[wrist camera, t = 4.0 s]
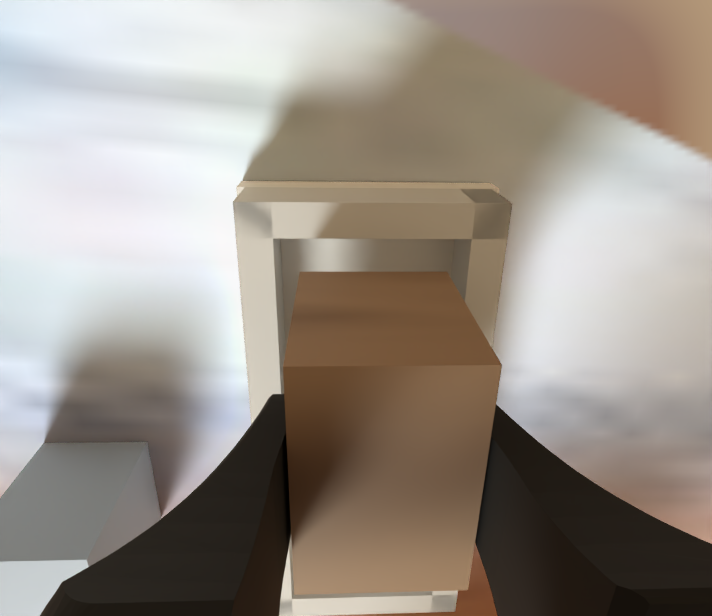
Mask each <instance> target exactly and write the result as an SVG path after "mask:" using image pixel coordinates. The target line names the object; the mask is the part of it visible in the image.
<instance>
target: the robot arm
mask: <svg viewBox="0 0 712 616" xmlns="http://www.w3.org/2000/svg"><path fill="white" fill-rule="evenodd" d="M290 537H291V520H290V500H289V480H288V460H287V439H286V419H285V399H284V394H272V395H271V396H270V397H269V398H268V400H267V401H266V403H265V405H264V406H263V408H262V410H261V411H260V413H259V414H258V416H257V417H256V419H255V420H254V422H253V423H252V425H251V426H250V427H249V429H248V430H247V431H246V433H245V434H244V435H243V437H242V438H241V439H240V441H239V442H238V443H237V445H236V446H235V447H234V448H233V449H232V451H231V452H230V453H229V454H228V455H227V456H226V458H225V459H224V460H223V461H222V462H221V463H220V464H219V466H218V467H217V468H216V469H215V470H214V471H213V472H212V473H211V474H210V475H209V476H208V477H207V479H206V480H205V481H204V482H203V483H202V484H201V485H199V486H198V487H197V488H196V489H195V490H194V491H193V492H192V493H191V494H190V495H189V496H188V497H187V498H186V499H184V500H183V501H182V502H181V503H180V504H179V505H177V506H176V507H175V508H174V509H173V510H172V511H170V512H169V513H168V514H167V515H165V516H164V517H163V518H162V519H161V520H159V521H158V522H157V523H155V524H154V525H153V526H151V527H150V528H148V529H147V530H146V531H144V532H143V533H142V534H140V535H139V536H137V537H136V538H134V539H133V540H131V541H130V542H128V543H127V544H125V545H124V546H122V547H121V548H119V549H118V550H116V551H115V552H113V553H111V554H110V555H108V556H106V557H105V558H103V559H101V560H100V561H98V562H96V563H94V564H93V565H91V566H89V567H88V568H86V569H84V570H82V571H81V572H79V573H77V574H75V575H74V576H72V577H70V578H68V579H66V580H64V581H63V582H62V583H61V584H60V586H59V587H58V589H57V591H56V592H55V594H54V595H53V596H52V598H51V599H50V601H49V602H48V603H47V605H46V606H45V608H44V610H43V611H42V613H41V615H40V616H279V612H280V600H281V592H282V584H283V577H284V571H285V566H286V560H287V554H288V548H289V543H290ZM475 543H476V546H477V549H478V551H479V554H480V557H481V560H482V563H483V566H484V569H485V572H486V574H487V578H488V581H489V584H490V588H491V591H492V595H493V599H494V603H495V607H496V611H497V615H498V616H712V544H710V543H708V542H705V541H703V540H701V539H699V538H696V537H694V536H692V535H690V534H688V533H686V532H683V531H681V530H679V529H677V528H675V527H673V526H670V525H668V524H666V523H664V522H662V521H660V520H658V519H656V518H654V517H652V516H650V515H648V514H647V513H645V512H643V511H641V510H639V509H638V508H636V507H634V506H632V505H630V504H628V503H627V502H625V501H623V500H621V499H619V498H618V497H616V496H614V495H613V494H611V493H609V492H608V491H606V490H604V489H603V488H601V487H600V486H598V485H597V484H595V483H594V482H592V481H591V480H589V479H588V478H586V477H585V476H583V475H581V474H580V473H579V472H577V471H576V470H574V469H573V468H571V467H570V466H569V465H567V464H566V463H565V462H563V461H562V460H561V459H559V458H558V457H557V456H556V455H554V454H553V453H552V452H550V451H549V450H548V449H546V448H545V447H544V446H543V445H542V444H540V443H539V442H538V441H537V440H535V439H534V438H533V437H532V436H531V435H530V434H528V433H527V432H526V431H525V430H524V429H523V428H521V427H520V426H519V425H518V424H517V423H516V422H515V421H514V420H513V419H511V418H510V417H509V416H508V415H507V414H506V413H505V412H504V411H503V410H502V409H501V408H499V407H498V406H497V405H496V407H495V413H494V420H493V427H492V433H491V440H490V447H489V453H488V460H487V467H486V473H485V480H484V486H483V493H482V500H481V506H480V513H479V520H478V526H477V533H476V540H475Z"/></svg>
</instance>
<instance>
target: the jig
mask: <svg viewBox="0 0 712 616" xmlns="http://www.w3.org/2000/svg"><path fill="white" fill-rule="evenodd" d="M499 190H500V189H499V188H497V187H496V186H494V185H493V184H491V183H442V182H318V181H241V183H240V184H239V185H238V186H237V198H236V199H235V200H234V201H233V207H234V220H235V232H236V244H237V256H238V268H239V280H240V292H241V304H242V316H243V328H244V340H245V352H246V364H247V376H248V388H249V400H250V413H251V425H252V423H253V422H254V420H255V419H256V417H257V416H258V414H259V413H260V411H261V410H262V408H263V406H264V405H265V403H266V401H267V400H268V398H269V397H270V396H271V395H272V394H284V379H283V363H284V358H285V352H286V346H287V341H288V335H289V329H290V324H291V318H292V312H293V306H294V301H295V295H296V289H297V284H298V278H299V272H448V274H449V276H450V278H451V279H452V281H453V283H454V284H455V286H456V288H457V290H458V291H459V293H460V295H461V296H462V298H463V300H464V301H465V303H466V305H467V307H468V308H469V310H470V312H471V313H472V315H473V317H474V319H475V320H476V322H477V324H478V325H479V327H480V329H481V330H482V332H483V334H484V336H485V337H486V339H487V341H488V342H489V344H490V346H491V348H492V344H493V337H494V330H495V323H496V316H497V309H498V302H499V294H500V287H501V280H502V273H503V266H504V259H505V252H506V245H507V237H508V230H509V223H510V216H511V209H512V203H511V202H509V201H508V200H506V199H505V198H504V197H502V196H501V195H499ZM457 594H458V591H420V592H381V593H342V594H304V595H294V581H293V561H292V541H291V537H290V543H289V548H288V554H287V560H286V566H285V571H284V577H283V584H282V592H281V600H280V612H279V616H320V615H356V614H392V613H428V612H455V608H456V601H457Z"/></svg>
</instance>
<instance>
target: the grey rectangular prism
mask: <svg viewBox="0 0 712 616" xmlns="http://www.w3.org/2000/svg"><path fill="white" fill-rule="evenodd" d="M160 519H161V513H160V507H159V502H158V496H157V491H156V486H155V480H154V475H153V470H152V464H151V459H150V454H149V448H148V443H147V442H83V443H43V445H42V446H41V447H40V449H39V450H38V451H37V452H36V454H35V455H34V456H33V457H32V459H31V460H30V461H29V462H28V464H27V465H26V466H25V467H24V469H23V470H22V471H21V473H20V474H19V475H18V476H17V478H16V479H15V480H14V481H13V483H12V484H11V485H10V486H9V488H8V489H7V490H6V491H5V493H4V494H3V495H2V497H1V498H0V616H40V615H41V613H42V611H43V610H44V608H45V606H46V605H47V603H48V602H49V601H50V599H51V598H52V596H53V595H54V594H55V592H56V591H57V589H58V587H59V586H60V584H61V583H62V582H63V581H64V580H66V579H68V578H70V577H72V576H74V575H75V574H77V573H79V572H81V571H82V570H84V569H86V568H88V567H89V566H91V565H93V564H94V563H96V562H98V561H100V560H101V559H103V558H105V557H106V556H108V555H110V554H111V553H113V552H115V551H116V550H118V549H119V548H121V547H122V546H124V545H125V544H127V543H128V542H130V541H131V540H133V539H134V538H136V537H137V536H139V535H140V534H142V533H143V532H144V531H146V530H147V529H148V528H150V527H151V526H153V525H154V524H155V523H157V522H158V521H159V520H160Z"/></svg>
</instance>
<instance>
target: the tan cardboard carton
mask: <svg viewBox="0 0 712 616" xmlns="http://www.w3.org/2000/svg"><path fill="white" fill-rule="evenodd" d="M501 367H502V365H501V363H500V361H499V359H498V358H497V356H496V354H495V353H494V351H493V349H492V348H491V346H490V344H489V342H488V341H487V339H486V337H485V336H484V334H483V332H482V330H481V329H480V327H479V325H478V324H477V322H476V320H475V319H474V317H473V315H472V313H471V312H470V310H469V308H468V307H467V305H466V303H465V301H464V300H463V298H462V296H461V295H460V293H459V291H458V290H457V288H456V286H455V284H454V283H453V281H452V279H451V278H450V276H449V274H448V272H299V278H298V284H297V289H296V295H295V301H294V306H293V312H292V318H291V324H290V329H289V335H288V341H287V346H286V352H285V358H284V363H283V379H284V399H285V419H286V439H287V460H288V480H289V500H290V520H291V541H292V561H293V581H294V595H304V594H342V593H381V592H420V591H458V590H468V586H469V580H470V573H471V566H472V560H473V553H474V546H475V540H476V533H477V526H478V520H479V513H480V506H481V500H482V493H483V486H484V480H485V473H486V467H487V460H488V453H489V447H490V440H491V433H492V427H493V420H494V413H495V407H496V400H497V393H498V387H499V380H500V374H501Z"/></svg>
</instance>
